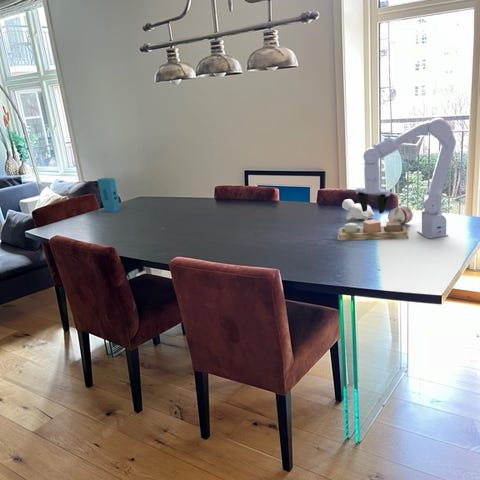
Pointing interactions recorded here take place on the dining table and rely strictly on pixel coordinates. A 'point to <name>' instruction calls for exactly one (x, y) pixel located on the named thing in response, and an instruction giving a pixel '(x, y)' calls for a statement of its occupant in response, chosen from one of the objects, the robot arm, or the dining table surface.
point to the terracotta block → (371, 226)
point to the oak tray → (372, 234)
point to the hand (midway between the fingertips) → (373, 212)
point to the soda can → (400, 215)
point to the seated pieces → (389, 226)
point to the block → (108, 194)
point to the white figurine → (357, 210)
